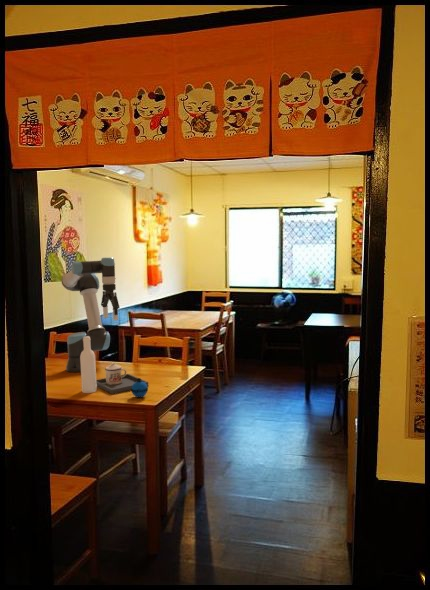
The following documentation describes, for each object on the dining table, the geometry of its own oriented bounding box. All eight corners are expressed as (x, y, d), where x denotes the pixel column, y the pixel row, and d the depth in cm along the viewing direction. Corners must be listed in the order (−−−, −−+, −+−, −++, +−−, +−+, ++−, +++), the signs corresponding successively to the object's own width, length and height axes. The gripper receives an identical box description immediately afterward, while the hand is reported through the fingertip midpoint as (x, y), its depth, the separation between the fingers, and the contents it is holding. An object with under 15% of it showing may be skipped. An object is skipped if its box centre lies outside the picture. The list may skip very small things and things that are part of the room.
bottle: (79, 391, 272) (76, 337, 269) (92, 388, 277) (89, 334, 274) (86, 394, 266) (83, 338, 263) (99, 390, 272) (97, 336, 269)
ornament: (150, 395, 262) (149, 376, 261) (144, 400, 254) (143, 380, 253) (135, 394, 264) (134, 375, 263) (128, 399, 256) (127, 380, 255)
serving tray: (93, 384, 284) (93, 380, 284) (128, 377, 297) (128, 373, 297) (112, 394, 265) (111, 389, 265) (148, 386, 278) (148, 382, 278)
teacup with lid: (108, 386, 278) (107, 365, 277) (103, 382, 286) (102, 362, 285) (129, 382, 284) (128, 362, 283) (123, 379, 292) (123, 359, 291)
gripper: (124, 284, 289) (125, 320, 291) (105, 282, 308) (107, 316, 311) (112, 285, 284) (114, 322, 286) (94, 283, 304) (96, 317, 306)
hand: (110, 319), depth 298 cm, fingers open, 13 cm apart
